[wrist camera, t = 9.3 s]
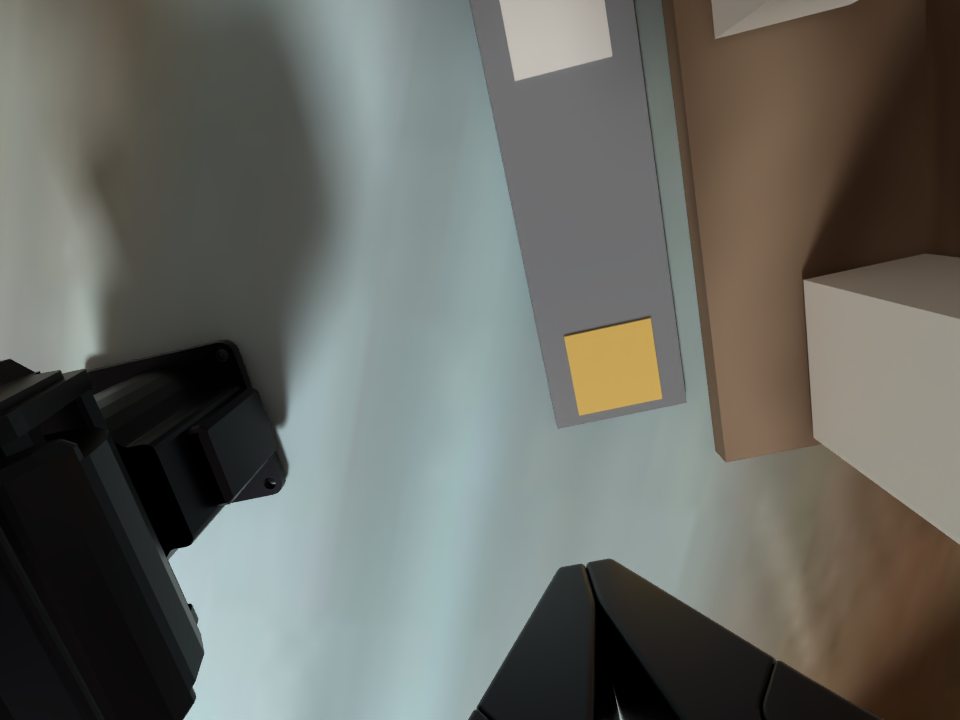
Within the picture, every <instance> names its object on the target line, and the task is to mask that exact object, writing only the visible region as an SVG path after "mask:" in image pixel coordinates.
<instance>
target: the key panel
mask: <svg viewBox="0 0 960 720" xmlns="http://www.w3.org/2000/svg"><path fill="white" fill-rule="evenodd" d="M662 7H663V15H664V24H665V32H666V40H667V49H668V57H669V65H670V74H671V82H672V90H673V99H674V107H675V115H676V124H677V132H678V141H679V149H680V157H681V166H682V174H683V182H684V191H685V199H686V207H687V216H688V224H689V232H690V241H691V249H692V257H693V266H694V274H695V283H696V291H697V299H698V308H699V316H700V324H701V333H702V341H703V349H704V358H705V366H706V374H707V383H708V391H709V399H710V408H711V416H712V425H713V433H714V441H715V450H716V452H717V453H718V454H719V455H720V456H721V457H722V459H723V460H724V461H725V462H731V461H736V460H741V459H747V458H752V457H757V456H762V455H767V454H773V453H778V452H783V451H788V450H793V449H798V448H804V447H809V446H814V445H819V444H821V443H820V442H819V441H817V440H816V439H815V438H814V436H813V421H812V405H811V390H810V374H809V359H808V343H807V328H806V312H805V297H804V281H803V280H805V279H810V278H815V277H819V276H824V275H828V274H833V273H838V272H842V271H847V270H851V269H856V268H861V267H865V266H870V265H874V264H879V263H884V262H888V261H893V260H897V259H902V258H907V257H911V256H916V255H920V254H925V253H926V254H934V255H942V256H951V257H959V258H960V0H858V1H856V2H854V3H852V4H850V5H847V6H843V7H839V8H835V9H831V10H827V11H823V12H819V13H816V14H812V15H808V16H804V17H800V18H796V19H792V20H788V21H784V22H780V23H776V24H772V25H768V26H765V27H761V28H757V29H753V30H749V31H745V32H741V33H737V34H733V35H729V36H725V37H721V38H717V39H715V33H714V23H713V13H712V3H711V0H662Z"/></svg>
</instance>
